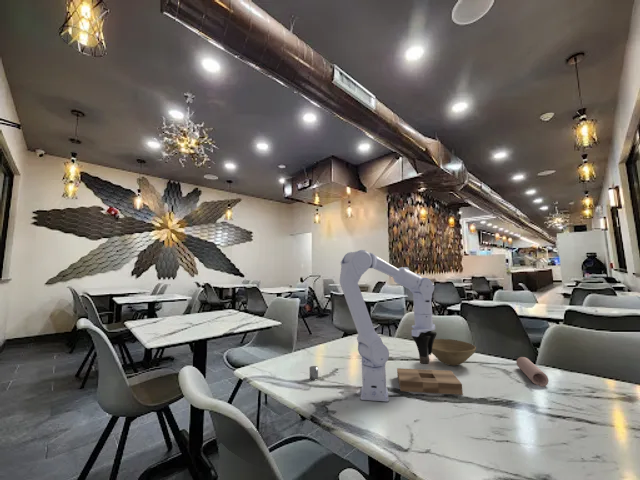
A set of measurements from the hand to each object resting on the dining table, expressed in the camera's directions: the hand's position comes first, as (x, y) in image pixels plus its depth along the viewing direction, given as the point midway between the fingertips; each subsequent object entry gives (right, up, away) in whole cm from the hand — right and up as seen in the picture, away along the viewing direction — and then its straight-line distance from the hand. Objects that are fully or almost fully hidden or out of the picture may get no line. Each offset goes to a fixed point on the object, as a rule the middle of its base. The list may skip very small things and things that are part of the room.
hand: (425, 355), depth 92 cm
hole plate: (0, -9, -1) cm, 9 cm away
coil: (+39, -10, +5) cm, 40 cm away
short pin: (-37, -11, +6) cm, 39 cm away
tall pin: (0, -3, 0) cm, 3 cm away
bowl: (+17, -12, +19) cm, 28 cm away
